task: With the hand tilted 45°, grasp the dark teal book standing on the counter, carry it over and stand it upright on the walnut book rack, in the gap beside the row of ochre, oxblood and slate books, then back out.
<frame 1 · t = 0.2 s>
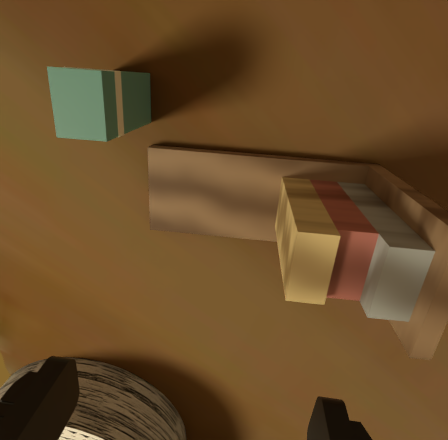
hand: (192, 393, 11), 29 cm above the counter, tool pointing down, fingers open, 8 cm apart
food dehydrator: (84, 425, 59), on the counter
book rack: (252, 195, 39), on the counter
teal book: (132, 97, 35), on the counter
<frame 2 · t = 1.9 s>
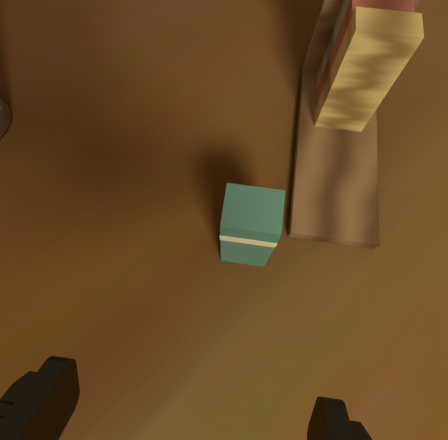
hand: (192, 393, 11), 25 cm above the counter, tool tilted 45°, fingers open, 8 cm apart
book rack: (333, 155, 43), on the counter
teal book: (244, 247, 38), on the counter
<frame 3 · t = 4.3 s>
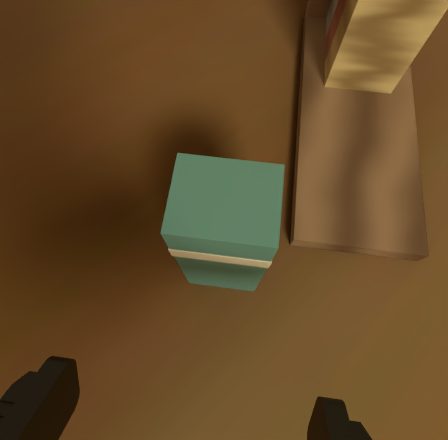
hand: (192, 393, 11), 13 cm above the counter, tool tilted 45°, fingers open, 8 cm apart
book rack: (351, 127, 30), on the counter
teal book: (224, 261, 26), on the counter
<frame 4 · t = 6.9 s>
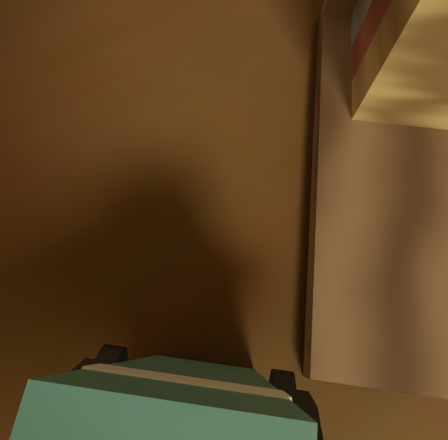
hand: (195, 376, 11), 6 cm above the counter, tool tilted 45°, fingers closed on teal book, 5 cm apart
book rack: (391, 179, 20), on the counter
teal book: (199, 405, 16), on the counter, touching gripper
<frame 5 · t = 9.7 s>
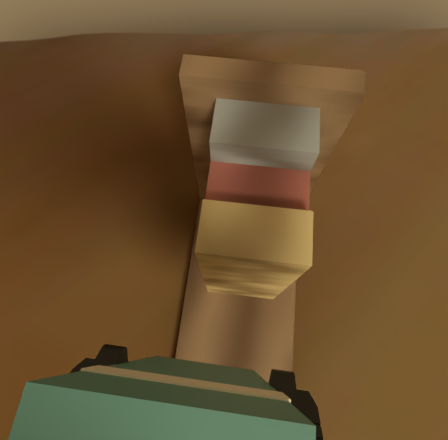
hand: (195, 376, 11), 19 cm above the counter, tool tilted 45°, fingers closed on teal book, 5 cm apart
book rack: (236, 330, 30), on the counter
teal book: (198, 406, 16), point 13 cm above the counter, touching gripper
when the fingers open (9 cm above the counter, at t = 12.5 s): teal book drops 1 cm, resting on book rack.
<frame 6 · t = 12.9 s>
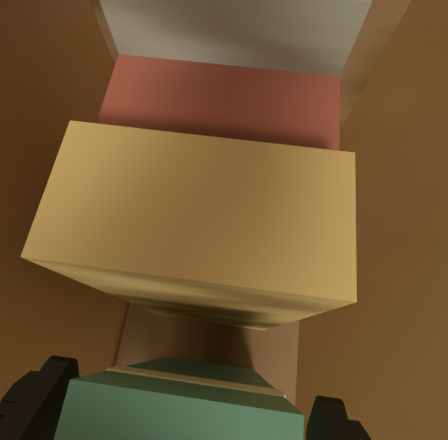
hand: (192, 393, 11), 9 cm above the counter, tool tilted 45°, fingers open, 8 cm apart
book rack: (205, 377, 19), on the counter
teal book: (203, 403, 17), point 1 cm above the counter, touching book rack
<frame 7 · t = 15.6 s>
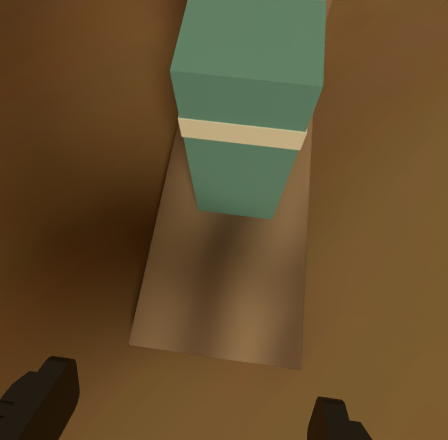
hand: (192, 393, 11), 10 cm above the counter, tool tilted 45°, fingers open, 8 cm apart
book rack: (237, 183, 24), on the counter
teal book: (238, 188, 22), point 1 cm above the counter, touching book rack
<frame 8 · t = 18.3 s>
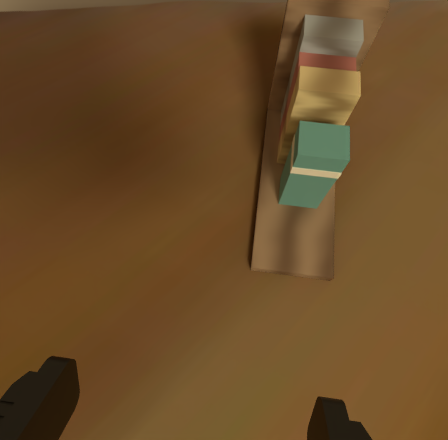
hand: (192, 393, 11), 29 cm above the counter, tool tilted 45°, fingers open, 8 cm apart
book rack: (295, 189, 45), on the counter
teal book: (298, 192, 43), point 1 cm above the counter, touching book rack
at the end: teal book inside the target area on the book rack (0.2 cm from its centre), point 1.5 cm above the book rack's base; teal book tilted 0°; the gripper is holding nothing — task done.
